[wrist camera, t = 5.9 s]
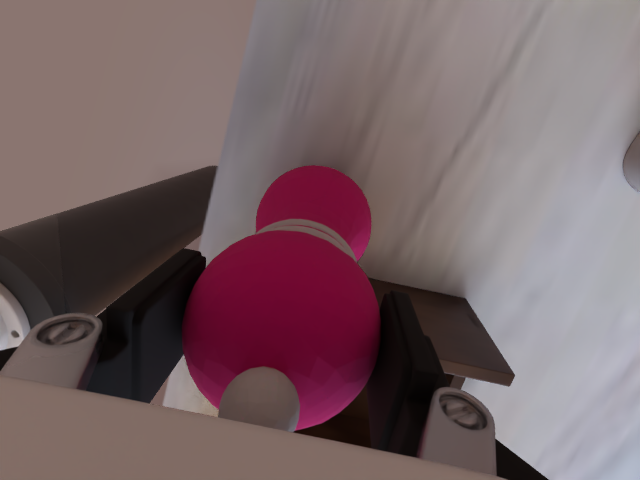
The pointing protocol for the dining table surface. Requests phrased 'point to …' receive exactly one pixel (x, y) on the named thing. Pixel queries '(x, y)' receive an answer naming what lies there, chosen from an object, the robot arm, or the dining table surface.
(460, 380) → the shelf
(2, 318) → the robot arm
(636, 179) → the lumpy-topped squat cylinder
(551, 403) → the dining table surface
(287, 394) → the pepper mill
